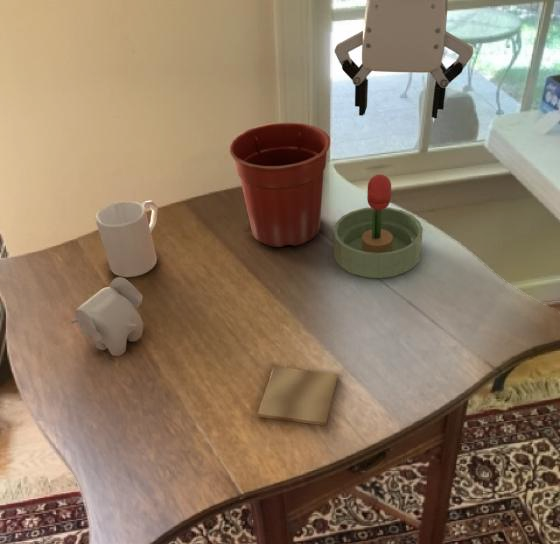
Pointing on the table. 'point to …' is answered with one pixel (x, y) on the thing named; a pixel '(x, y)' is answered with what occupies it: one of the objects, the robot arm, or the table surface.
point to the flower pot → (282, 180)
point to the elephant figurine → (112, 316)
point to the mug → (128, 237)
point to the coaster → (298, 396)
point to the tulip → (378, 216)
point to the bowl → (371, 263)
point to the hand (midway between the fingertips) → (398, 112)
